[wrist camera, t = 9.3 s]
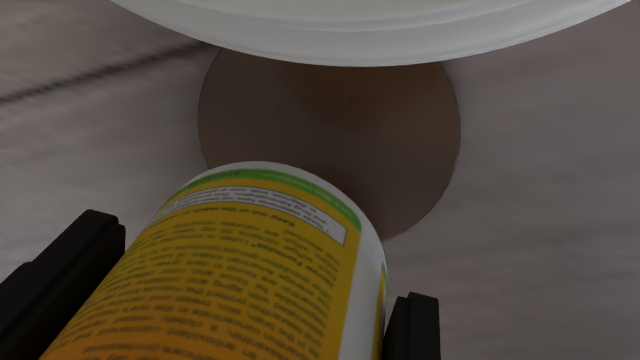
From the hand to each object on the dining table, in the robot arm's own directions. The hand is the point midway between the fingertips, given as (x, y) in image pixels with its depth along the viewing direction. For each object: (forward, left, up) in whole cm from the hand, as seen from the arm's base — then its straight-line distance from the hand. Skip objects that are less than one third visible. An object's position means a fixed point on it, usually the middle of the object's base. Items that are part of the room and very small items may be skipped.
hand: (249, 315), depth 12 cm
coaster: (0, 0, -10) cm, 10 cm away
